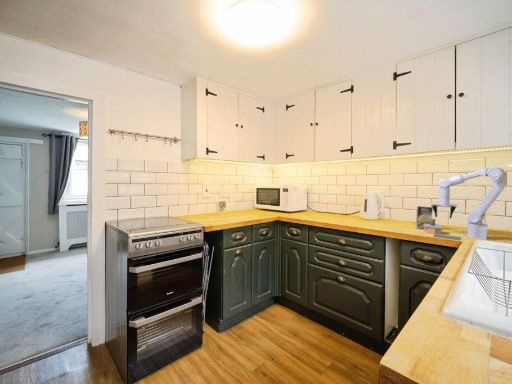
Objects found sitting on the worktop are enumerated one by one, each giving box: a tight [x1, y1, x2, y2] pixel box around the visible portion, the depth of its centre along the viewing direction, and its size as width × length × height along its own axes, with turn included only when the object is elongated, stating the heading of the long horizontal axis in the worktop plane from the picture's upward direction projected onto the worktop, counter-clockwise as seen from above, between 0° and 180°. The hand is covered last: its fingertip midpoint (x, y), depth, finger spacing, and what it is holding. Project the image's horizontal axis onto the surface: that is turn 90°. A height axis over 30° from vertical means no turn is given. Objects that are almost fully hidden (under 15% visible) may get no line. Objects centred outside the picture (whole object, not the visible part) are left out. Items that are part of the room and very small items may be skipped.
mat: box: [432, 234, 462, 241], centre depth 151 cm, size 13×12×1 cm
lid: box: [423, 218, 444, 229], centre depth 165 cm, size 10×10×5 cm
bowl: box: [423, 227, 442, 235], centre depth 165 cm, size 9×9×4 cm
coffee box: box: [415, 206, 433, 230], centre depth 181 cm, size 9×6×16 cm
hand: (443, 217), depth 165 cm, fingers open, 7 cm apart
